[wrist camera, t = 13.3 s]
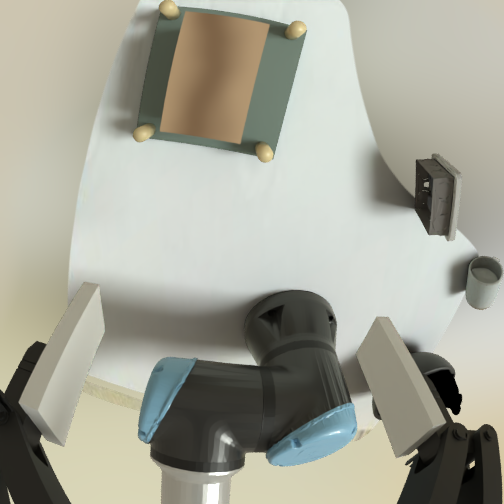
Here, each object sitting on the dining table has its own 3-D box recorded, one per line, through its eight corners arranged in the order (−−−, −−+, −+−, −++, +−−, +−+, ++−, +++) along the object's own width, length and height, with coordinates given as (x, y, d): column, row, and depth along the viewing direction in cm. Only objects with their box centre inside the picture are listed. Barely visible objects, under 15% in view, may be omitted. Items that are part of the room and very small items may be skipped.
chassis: (303, 32, 26) (315, 23, 22) (271, 156, 34) (277, 167, 30) (165, 9, 23) (154, -3, 19) (139, 134, 31) (125, 142, 27)
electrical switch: (433, 210, 39) (463, 241, 31) (405, 214, 39) (432, 246, 32) (435, 151, 34) (472, 172, 26) (405, 153, 35) (439, 174, 27)
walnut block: (261, 39, 25) (269, 24, 18) (238, 131, 31) (240, 144, 24) (196, 28, 24) (185, 11, 17) (176, 121, 30) (159, 131, 23)
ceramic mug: (458, 295, 49) (477, 319, 42) (461, 264, 45) (484, 289, 38) (492, 275, 47) (512, 296, 41) (496, 245, 43) (520, 265, 37)
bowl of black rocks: (353, 394, 63) (372, 460, 47) (373, 341, 53) (407, 421, 37) (420, 377, 64) (445, 434, 48) (449, 325, 54) (487, 388, 37)
